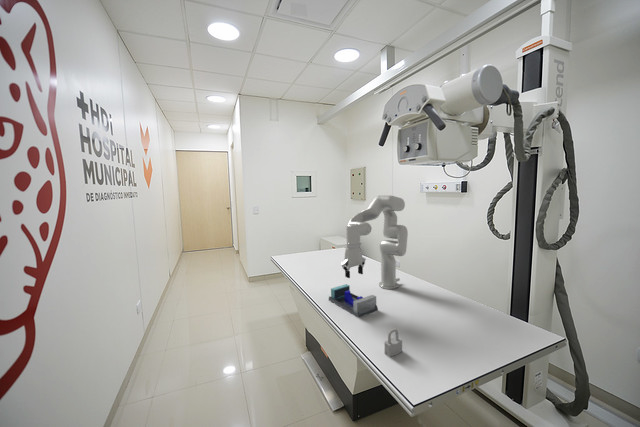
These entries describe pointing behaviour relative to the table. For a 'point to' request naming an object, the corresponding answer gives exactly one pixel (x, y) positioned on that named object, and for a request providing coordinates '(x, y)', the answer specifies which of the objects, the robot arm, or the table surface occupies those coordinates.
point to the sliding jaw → (339, 291)
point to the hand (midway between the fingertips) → (354, 275)
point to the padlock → (393, 344)
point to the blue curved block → (350, 298)
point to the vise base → (357, 305)
